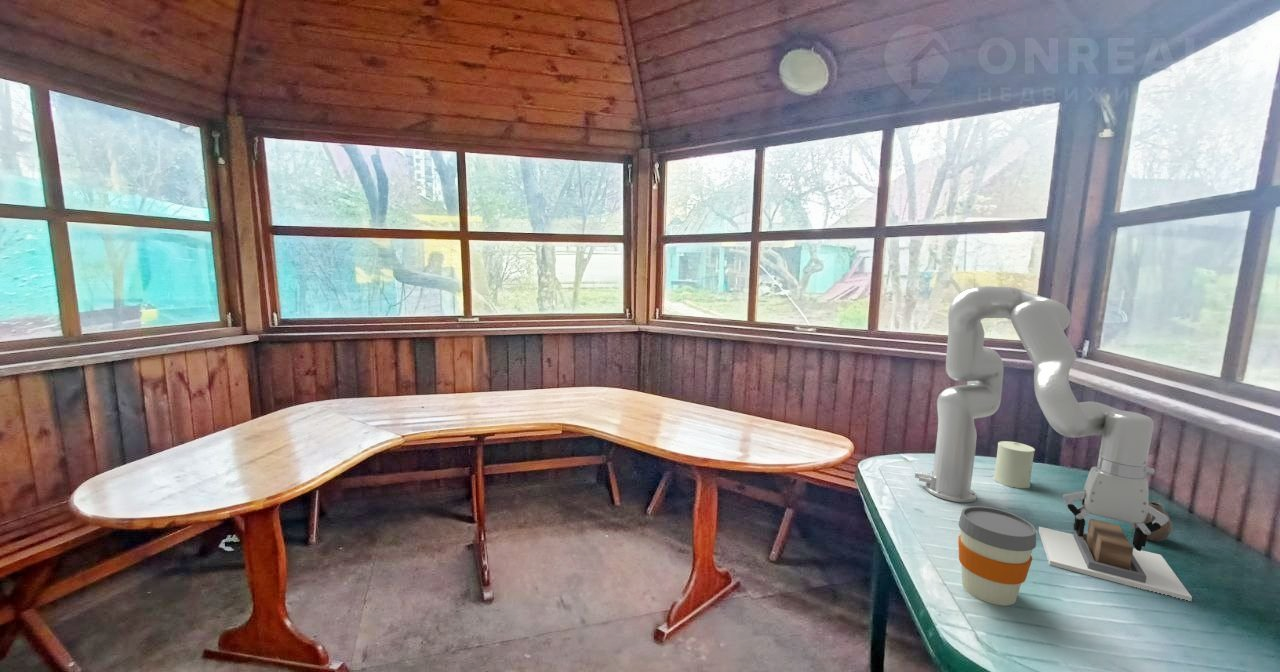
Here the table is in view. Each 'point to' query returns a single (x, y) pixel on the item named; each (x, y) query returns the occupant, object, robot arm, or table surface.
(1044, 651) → the table surface
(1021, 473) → the can
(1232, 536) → the table surface
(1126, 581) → the slot board
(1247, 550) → the table surface
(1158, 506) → the vase
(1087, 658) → the table surface
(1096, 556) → the walnut bar
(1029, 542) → the reusable coffee cup
